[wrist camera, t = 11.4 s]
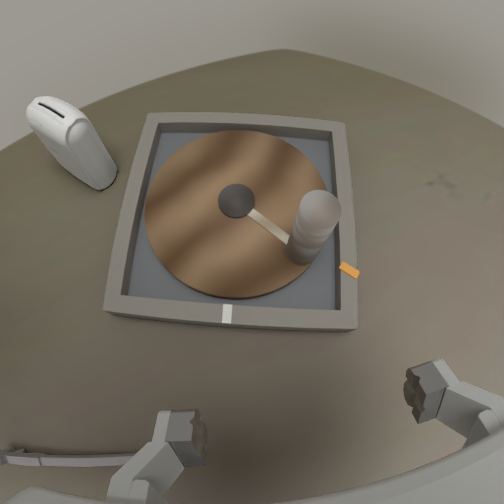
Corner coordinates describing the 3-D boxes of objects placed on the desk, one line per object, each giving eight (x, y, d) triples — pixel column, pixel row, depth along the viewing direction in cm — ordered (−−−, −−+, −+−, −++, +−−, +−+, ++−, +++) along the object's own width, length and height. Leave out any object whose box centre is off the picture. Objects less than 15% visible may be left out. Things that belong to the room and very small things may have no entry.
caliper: (15, 454, 25) (-15, 463, 19) (13, 446, 26) (-18, 453, 20) (162, 458, 27) (145, 478, 21) (160, 449, 27) (142, 467, 21)
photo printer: (57, 165, 38) (13, 109, 26) (77, 142, 39) (39, 82, 27) (101, 197, 36) (56, 136, 24) (124, 171, 37) (87, 103, 25)
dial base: (114, 315, 31) (101, 309, 28) (153, 129, 39) (147, 112, 36) (349, 332, 31) (360, 328, 28) (340, 138, 39) (346, 122, 36)
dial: (114, 222, 33) (73, 170, 23) (228, 115, 38) (225, 49, 28) (249, 340, 30) (251, 330, 20) (358, 201, 35) (394, 144, 25)
